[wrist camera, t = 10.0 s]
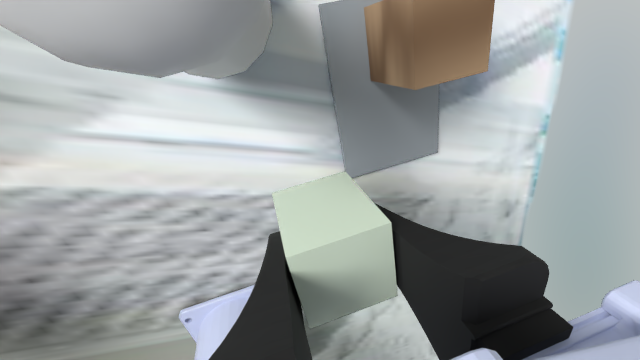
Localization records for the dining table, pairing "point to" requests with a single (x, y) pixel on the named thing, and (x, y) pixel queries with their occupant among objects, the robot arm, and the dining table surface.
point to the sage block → (335, 247)
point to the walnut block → (427, 40)
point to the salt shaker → (146, 33)
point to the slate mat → (373, 99)
